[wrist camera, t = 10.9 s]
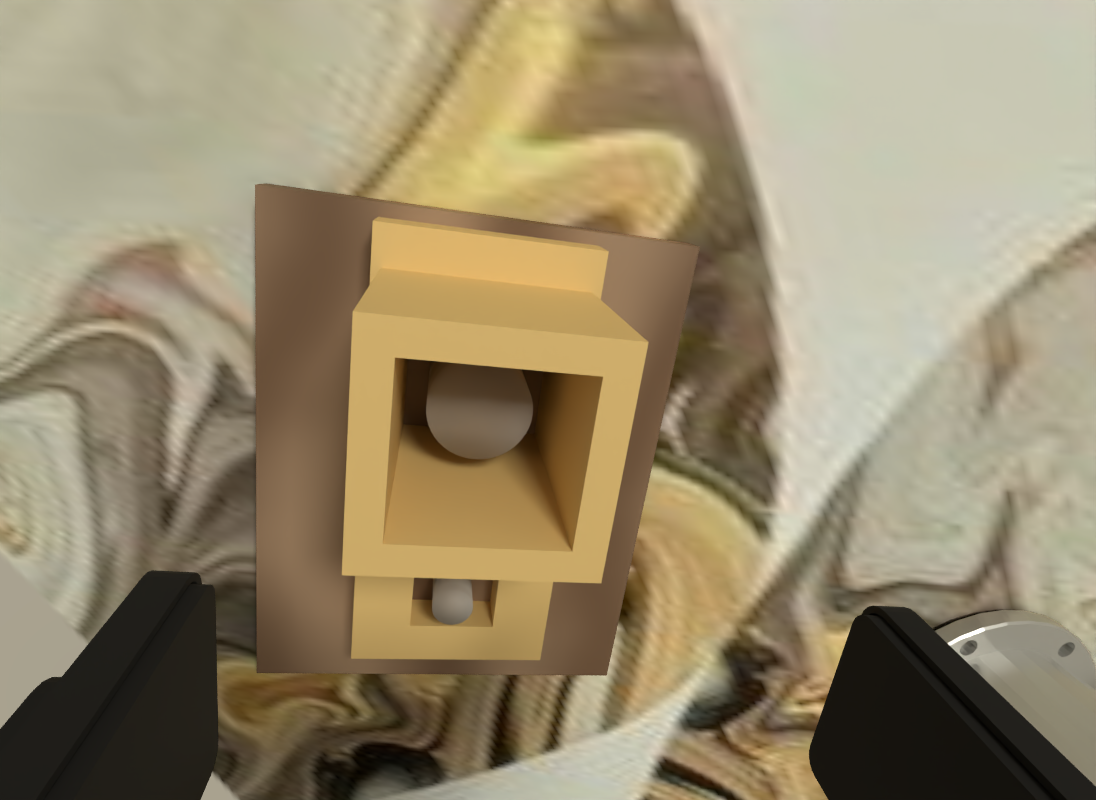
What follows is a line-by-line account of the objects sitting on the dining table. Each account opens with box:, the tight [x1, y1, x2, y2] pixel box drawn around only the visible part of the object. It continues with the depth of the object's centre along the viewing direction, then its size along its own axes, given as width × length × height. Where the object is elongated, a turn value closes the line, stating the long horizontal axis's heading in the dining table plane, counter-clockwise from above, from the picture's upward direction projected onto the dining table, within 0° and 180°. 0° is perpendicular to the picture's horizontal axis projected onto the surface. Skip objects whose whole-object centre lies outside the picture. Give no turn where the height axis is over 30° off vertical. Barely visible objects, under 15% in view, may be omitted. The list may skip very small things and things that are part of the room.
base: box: [255, 184, 700, 675], centre depth 22 cm, size 14×18×5 cm
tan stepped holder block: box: [342, 217, 649, 660], centre depth 19 cm, size 16×7×8 cm, turn 172°
